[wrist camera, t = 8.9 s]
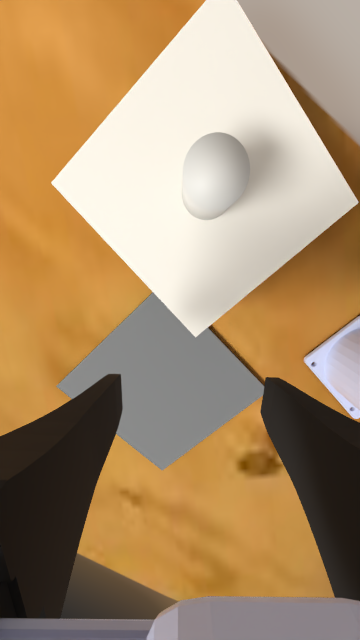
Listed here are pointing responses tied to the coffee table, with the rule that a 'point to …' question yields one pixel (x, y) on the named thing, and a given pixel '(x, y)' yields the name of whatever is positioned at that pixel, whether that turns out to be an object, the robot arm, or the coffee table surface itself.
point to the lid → (207, 170)
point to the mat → (167, 382)
